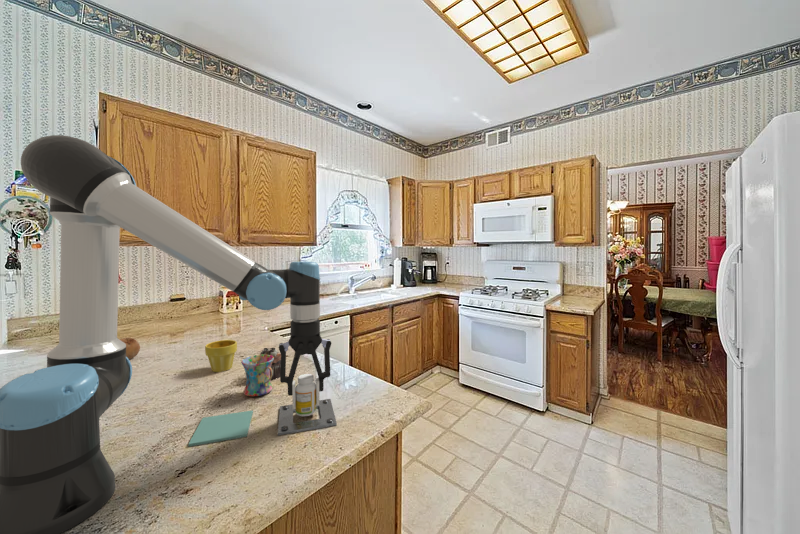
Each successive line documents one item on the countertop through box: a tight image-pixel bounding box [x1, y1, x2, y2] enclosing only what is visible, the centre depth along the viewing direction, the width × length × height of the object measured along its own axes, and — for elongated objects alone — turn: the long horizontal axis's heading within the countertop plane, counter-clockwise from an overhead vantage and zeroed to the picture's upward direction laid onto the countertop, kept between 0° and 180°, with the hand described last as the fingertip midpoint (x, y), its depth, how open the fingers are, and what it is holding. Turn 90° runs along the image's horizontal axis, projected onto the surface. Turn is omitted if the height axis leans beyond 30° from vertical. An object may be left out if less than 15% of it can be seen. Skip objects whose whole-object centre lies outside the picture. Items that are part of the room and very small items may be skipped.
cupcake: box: [259, 347, 281, 381], centre depth 111 cm, size 10×10×10 cm
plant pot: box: [204, 339, 238, 373], centre depth 118 cm, size 10×10×10 cm
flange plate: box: [277, 398, 337, 437], centre depth 84 cm, size 14×14×1 cm
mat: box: [188, 409, 254, 447], centre depth 79 cm, size 12×12×1 cm
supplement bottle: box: [295, 373, 317, 417], centre depth 84 cm, size 5×5×10 cm
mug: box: [240, 354, 274, 397], centre depth 98 cm, size 12×9×11 cm
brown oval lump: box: [118, 337, 141, 360], centre depth 129 cm, size 10×9×10 cm
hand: (306, 404), depth 84 cm, fingers closed on supplement bottle, 5 cm apart
